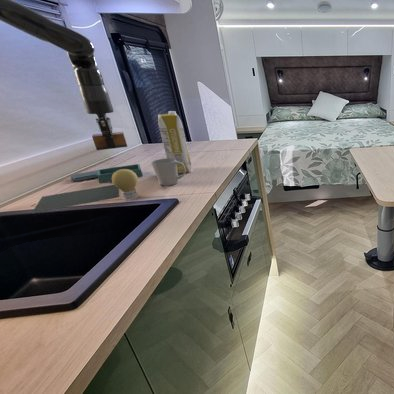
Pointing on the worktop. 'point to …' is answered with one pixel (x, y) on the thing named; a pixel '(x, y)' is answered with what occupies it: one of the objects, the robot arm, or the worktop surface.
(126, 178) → the light bulb
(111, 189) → the slate board
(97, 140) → the eraser
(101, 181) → the tray
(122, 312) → the worktop surface
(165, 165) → the cup
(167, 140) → the juice carton
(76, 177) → the smartphone
